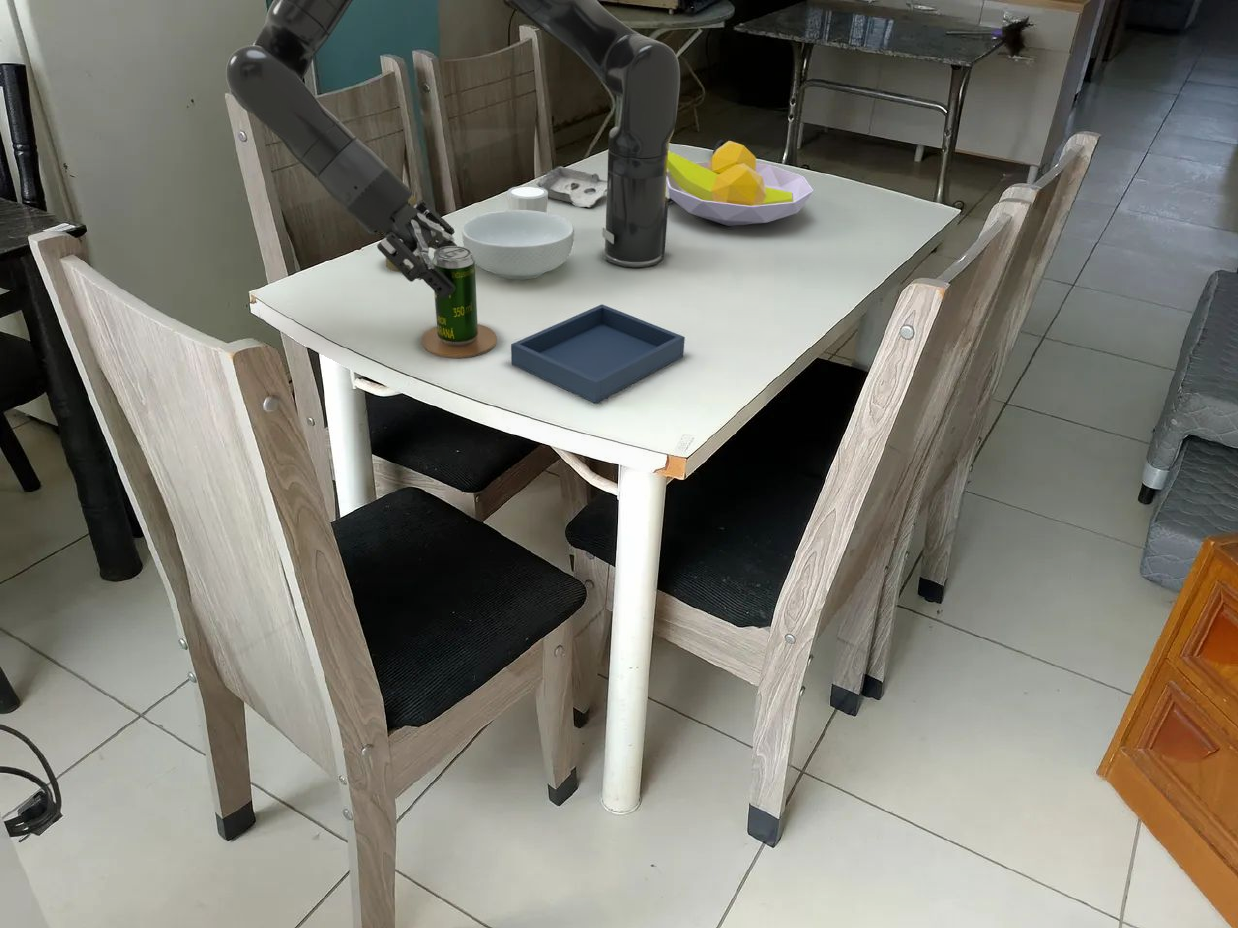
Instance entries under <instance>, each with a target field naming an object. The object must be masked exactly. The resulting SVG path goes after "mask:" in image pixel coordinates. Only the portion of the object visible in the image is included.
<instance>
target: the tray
mask: <svg viewBox="0 0 1238 928" xmlns="http://www.w3.org/2000/svg"><path fill="white" fill-rule="evenodd" d="M685 341H686V337H685V336H684V335H681V334H678V333H677V332H674V331H671V330H668V329H666V328H663V327H660V326H659V325H655V324H653V323H650V322H648V321H645V320H644V319H641V318H638V317H635V316H633V315H630V314H627V313H626V312H622V311H620V310H618V309H615V308H613V307H610V306H608V305H606V304H602V303H601V304H599V305H597V306H595V307H592V308H590V309H587V310H586V311H585V310H584V311H583V312H581V313H579V314H576V315H574V316H572V317H569V318H568V319H565V320H563V321H560V322H559V323H556V324H554V325H551V326H549V327H546V328H545V329H543V330H540V331H538V332H536V333H533V334H531V335H529V336H526V337H524V338H522V339H519V340H517V341H514V342H513V343H511V344H510V354H511V355H510V356H511V357H510V358H511V362H510V364H511V365H512V366H513V367H514V366H515V367H516V368H519V369H521V370H523V371H525V372H528V373H529V374H532V375H534V376H536V377H538V378H539V379H542V380H544V381H547V382H549V383H550V384H553V385H555V386H557V387H559V388H561V389H563V390H566V391H568V392H570V393H571V394H574V395H576V396H578V397H581V398H583V399H584V400H587V401H589V402H591V403H593V404H597V403H600V402H601V401H603V400H605V399H608V398H609V397H611V396H612V395H614V394H616V393H618V392H620V391H622V390H624V389H626V388H627V387H630V386H631V385H633V384H635V383H636V382H639V381H640V380H642V379H644V378H646V377H648V376H649V375H652V374H653V373H655V372H657V371H659V370H661V369H663V368H664V367H666V366H668V365H671V364H672V363H674V362H676V361H678V360H679V359H682V358H683V357H684V353H685V352H684V351H685Z"/></svg>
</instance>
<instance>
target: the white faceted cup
mask: <svg viewBox="0 0 1238 928" xmlns="http://www.w3.org/2000/svg"><path fill="white" fill-rule="evenodd" d="M506 194H507V195H506V196H507V203H508V205H507V206H508V210H531V211H540V212H546V213H548V212H547V209H548V199H549V197H548V191H547V190H546V189H544V188H541V187H538V185H537V186H536V185H518V186H513V187H511V188H509V189H508V190H507V191H506Z"/></svg>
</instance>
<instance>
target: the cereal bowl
mask: <svg viewBox="0 0 1238 928" xmlns="http://www.w3.org/2000/svg"><path fill="white" fill-rule="evenodd" d="M461 234H462V241H463V247H466V248H468V249H470V250H471V251H472V252H473V255H472V256H473V257H474V259H475V265H477V266H478V267H480V269H483V270H485V271H487V272H490V273H492V274H496V275H497V276H499V277H501V278H504V279H508V280H515V281H524V280H531V279H532V280H533V279H536V278H539V277H541V276H542V275H544V274H545V273H548V272H550V271H552V270H554V269H557V267H560V266H561V265H562V264H563V263H564V262H565V261H566V260H567V259H568V258H569V256H570V254H571V252H572V249H573V246H574V242H575V241H574V239H575V238H574V237H575V229H574V226H573V224H572V222H570V221H569V220H568V219H566V218H564V217H562V216H560V215H557V214H554V213H550V212H540V211H531V210H509V209H507V210H499V211H492V212H487V213H482V214H480V215H477V216H475V217H473V218H471V219H469V220H467V221H466V222H465V223H464V224H463V226H462V231H461Z"/></svg>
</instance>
